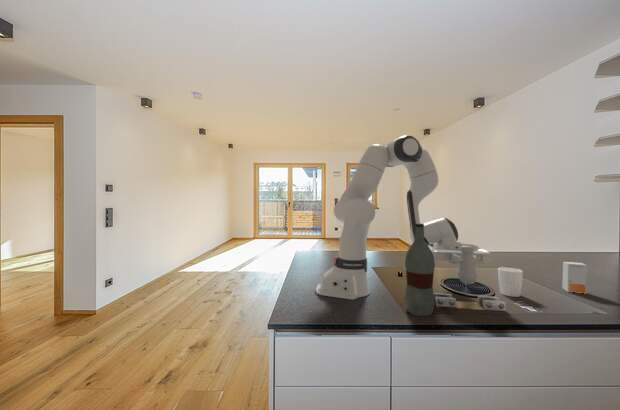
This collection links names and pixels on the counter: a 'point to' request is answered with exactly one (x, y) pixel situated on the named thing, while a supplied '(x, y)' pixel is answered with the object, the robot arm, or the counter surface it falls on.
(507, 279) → the white cup
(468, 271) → the salt shaker
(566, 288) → the skincare box
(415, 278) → the bottle
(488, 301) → the chain end
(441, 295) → the chain end
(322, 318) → the counter surface
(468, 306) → the pad
